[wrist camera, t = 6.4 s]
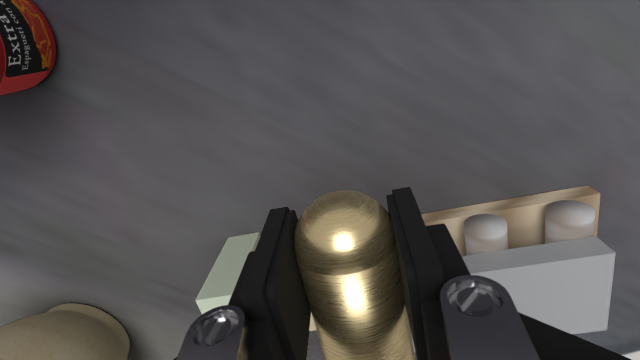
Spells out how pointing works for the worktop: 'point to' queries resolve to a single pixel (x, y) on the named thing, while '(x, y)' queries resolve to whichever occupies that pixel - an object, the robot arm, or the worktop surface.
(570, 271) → the slab
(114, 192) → the worktop surface
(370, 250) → the brass roller
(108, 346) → the planter bowl
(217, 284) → the bar
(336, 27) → the worktop surface
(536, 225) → the roller track
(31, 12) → the canned food
